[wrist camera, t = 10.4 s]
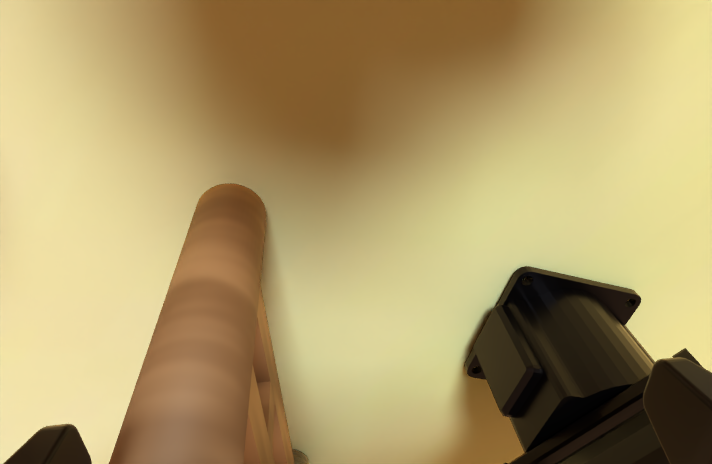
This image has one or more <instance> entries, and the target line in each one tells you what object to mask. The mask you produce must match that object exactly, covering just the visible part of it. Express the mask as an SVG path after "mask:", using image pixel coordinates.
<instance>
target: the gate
mask: <svg viewBox="0 0 712 464" xmlns="http://www.w3.org/2000/svg"><path fill="white" fill-rule="evenodd" d="M265 227H266V209H265V206H264V203H263V202H262V200H261V199H260V197H259V196H258V195H257V194H256V193H254V192H253V191H252V190H250V189H249V188H246V187H244V186H241V185H237V184H221V185H217V186H214V187H212V188H210V189H209V190H207V191H206V192H205V193H204V194H203V195H202V196H201V198H200V199H199V201H198V204H197V207H196V210H195V213H194V215H193V218H192V221H191V224H190V227H189V230H188V233H187V236H186V239H185V242H184V245H183V248H182V251H181V254H180V257H179V260H178V262H177V265H176V268H175V271H174V274H173V277H172V280H171V283H170V286H169V289H168V292H167V295H166V298H165V301H164V304H163V307H162V310H161V312H160V315H159V318H158V321H157V324H156V327H155V330H154V333H153V336H152V339H151V342H150V345H149V348H148V351H147V354H146V357H145V359H144V362H143V365H142V368H141V371H140V374H139V377H138V380H137V383H136V386H135V389H134V392H133V395H132V398H131V401H130V404H129V406H128V409H127V412H126V415H125V418H124V421H123V424H122V427H121V430H120V433H119V436H118V439H117V442H116V445H115V448H114V451H113V453H112V456H111V459H110V462H109V464H294V457H293V452H292V447H291V442H290V437H289V432H288V426H287V421H286V416H285V411H284V406H283V400H282V395H281V390H280V385H279V380H278V374H277V369H276V364H275V359H274V354H273V348H272V343H271V338H270V333H269V328H268V323H267V317H266V312H265V307H264V302H263V297H262V291H261V286H260V280H261V270H262V259H263V248H264V238H265Z"/></svg>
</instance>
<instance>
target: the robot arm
mask: <svg viewBox="0 0 712 464" xmlns="http://www.w3.org/2000/svg"><path fill="white" fill-rule="evenodd" d="M526 276H529V277H528V278H527V279H526V280H522V279H523V278H524V277H526ZM629 299H630V300H629ZM628 300H629V301H628ZM626 301H627V302H626ZM640 303H641V298H640V296H639V295H638V294H637V293H636V292H635V291H634V290H632V289H628V288H623V287H619V286H614V285H610V284H605V283H601V282H596V281H592V280H587V279H583V278H578V277H574V276H569V275H565V274H560V273H556V272H551V271H547V270H542V269H538V268H533V267H527V266H525V267H521V268H519V269H518V270H517V271H516V272H515V273H514V275H513V277H512V278H511V280H510V282H509V284H508V286H507V287H506V289H505V291H504V293H503V295H502V297H501V298H500V300H499V302H498V304H497V306H496V307H495V308H494V309H493V311H492V312H491V314H490V316H489V318H488V320H487V322H486V323H485V325H484V327H483V329H482V331H481V333H480V334H479V336H478V338H477V340H476V342H475V344H474V346H473V350H472V351H471V353H470V355H469V357H468V359H467V361H466V362H465V369H466V372H467V374H468V375H469V376H470V377H474V378H480V379H486V380H487V381H488V384H489V386H490V388H491V391H492V393H493V396H494V398H495V400H496V403H497V405H498V408H499V410H500V412H501V413H502V415H503V416H507V417H510V420H511V422H512V424H513V427H514V429H515V431H516V434H517V436H518V438H519V441H520V443H521V445H522V448H523V450H524V452H525V453H524V454H523V455H521V456H520V457H518V458H516V459H515V460H513V461H512V462H510V463H509V464H712V373H711V372H710V371H708V370H706V369H704V368H703V367H702V366H701V365H700V364H699V362H698V361H697V360H696V359H695V358H694V357H693V356H692V355H691V354H690V353H689V352H688V351H687V349H686V348H684V349H683V350H681V351H680V352H678V353H677V354H675V355H673V356H672V357H673V358H667V359H660V360H657V361H656V362H655V361H654V360H653V359H652V358H651V357H650V355H649V354H648V353H647V352H646V350H645V349H644V348H643V347H642V345H641V344H640V343H639V342H638V341H637V339H636V338H635V337H634V336H633V334H632V333H631V332H630V331H629V330H628V328H627V327H626V326H625V325H626V323H627V322H628V320H629V319H630V317H631V316H632V315H633V313H634V312H635V310H636V309H637V308H638V306H639V305H640ZM476 366H478V367H476ZM474 367H476V368H474ZM4 464H92V463H91V458H90V455H89V453H88V451H87V449H86V447H85V445H84V443H83V441H82V438H81V436H80V434H79V432H78V430H77V428H76V427H75V426H73V425H72V424H62V425H53V426H46V427H44V428H42V429H40V430H39V431H38V432H36V433H35V434H34V435H33V436H32V437H31V438H30V439H29V440H28V441H27V442H26V443H25V444H24V445H23V446H22V447H20V448H19V449H18V450H17V451H16V452H15V453H14V454H13V455H12V456H11V457H10V458H9V459H8V460H7V461H6V462H5V463H4ZM504 464H507V463H504Z"/></svg>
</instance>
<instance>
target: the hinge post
mask: <svg viewBox="0 0 712 464" xmlns="http://www.w3.org/2000/svg"><path fill="white" fill-rule="evenodd" d="M292 452H293V457H294V464H309V462H308V458H307V456H306V455H305V454H304V453H302V452H300V451H298V450H294V449H292Z"/></svg>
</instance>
